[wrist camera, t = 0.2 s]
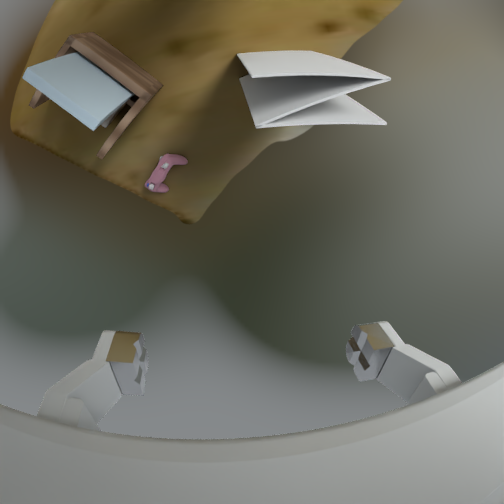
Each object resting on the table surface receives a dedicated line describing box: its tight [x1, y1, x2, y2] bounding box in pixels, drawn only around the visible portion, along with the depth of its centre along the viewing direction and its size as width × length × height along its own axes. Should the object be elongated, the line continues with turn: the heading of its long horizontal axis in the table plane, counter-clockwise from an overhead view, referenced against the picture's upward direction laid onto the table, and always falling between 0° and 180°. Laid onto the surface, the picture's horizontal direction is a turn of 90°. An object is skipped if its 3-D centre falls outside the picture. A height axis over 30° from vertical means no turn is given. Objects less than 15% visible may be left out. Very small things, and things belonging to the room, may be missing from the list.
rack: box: [29, 32, 163, 159], centre depth 40 cm, size 15×20×10 cm
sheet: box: [22, 52, 135, 131], centre depth 33 cm, size 2×14×24 cm, turn 42°
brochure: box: [237, 51, 391, 128], centre depth 35 cm, size 14×6×30 cm, turn 95°
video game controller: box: [145, 153, 188, 192], centre depth 57 cm, size 10×5×7 cm, turn 142°
